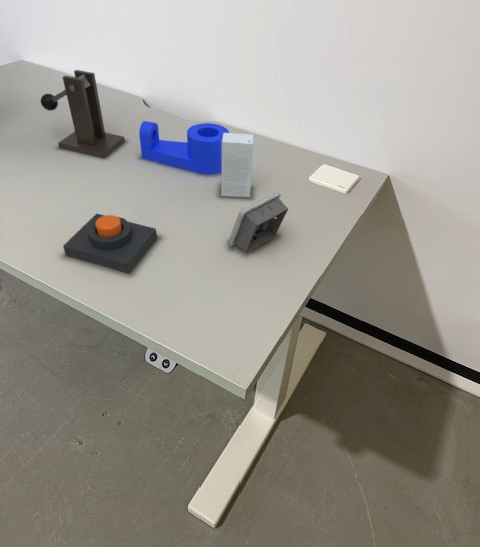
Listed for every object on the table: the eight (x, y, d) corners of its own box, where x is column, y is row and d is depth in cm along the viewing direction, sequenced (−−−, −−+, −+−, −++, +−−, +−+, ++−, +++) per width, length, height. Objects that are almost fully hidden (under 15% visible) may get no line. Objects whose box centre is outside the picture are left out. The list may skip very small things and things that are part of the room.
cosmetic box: (250, 187, 89) (254, 133, 81) (249, 198, 86) (254, 143, 78) (221, 185, 89) (223, 131, 81) (220, 196, 86) (221, 141, 78)
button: (92, 234, 70) (90, 226, 68) (105, 221, 72) (103, 212, 71) (113, 240, 69) (112, 231, 68) (126, 226, 72) (124, 218, 70)
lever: (44, 115, 96) (34, 100, 94) (54, 109, 99) (44, 94, 97) (84, 92, 89) (74, 75, 87) (94, 86, 91) (84, 70, 89)
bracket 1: (59, 147, 97) (40, 76, 87) (81, 132, 104) (67, 64, 93) (104, 158, 95) (91, 86, 84) (125, 141, 101) (114, 72, 91)
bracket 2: (232, 158, 98) (233, 126, 93) (221, 177, 92) (222, 144, 86) (153, 145, 101) (150, 113, 96) (138, 162, 94) (134, 130, 89)
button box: (65, 255, 71) (60, 237, 68) (98, 223, 78) (94, 204, 75) (129, 273, 68) (126, 255, 66) (157, 238, 75) (155, 220, 73)
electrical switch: (263, 225, 80) (271, 184, 73) (282, 240, 78) (293, 200, 71) (227, 245, 75) (232, 204, 68) (246, 262, 73) (254, 221, 66)
